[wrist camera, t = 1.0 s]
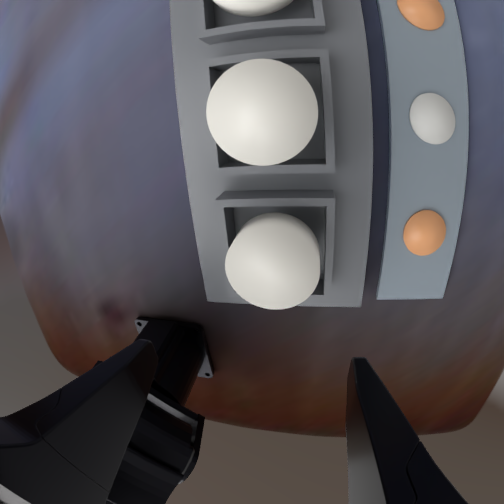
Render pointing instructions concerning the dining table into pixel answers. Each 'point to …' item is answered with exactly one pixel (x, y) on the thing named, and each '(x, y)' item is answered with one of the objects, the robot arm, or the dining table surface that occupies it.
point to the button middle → (262, 112)
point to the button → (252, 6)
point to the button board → (298, 167)
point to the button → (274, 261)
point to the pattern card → (423, 146)
